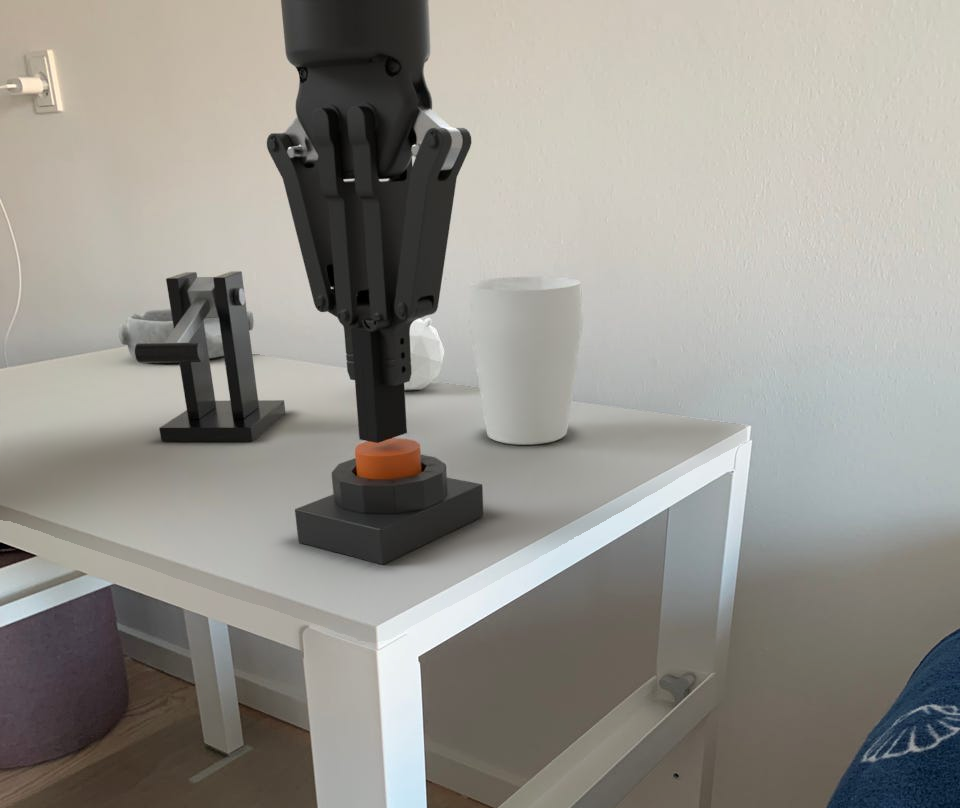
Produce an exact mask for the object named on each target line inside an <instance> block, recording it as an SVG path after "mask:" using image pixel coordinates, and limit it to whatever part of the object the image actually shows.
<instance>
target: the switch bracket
mask: <svg viewBox="0 0 960 808" xmlns="http://www.w3.org/2000/svg"><path fill="white" fill-rule="evenodd" d="M197 277H198V273H197V272H196V271H190V272H189V271H188V272H187V271H186V272H182V273H179V274H176V275H173V276H169V277H167V278H166V279H165V282H166V287H167V293H168V294H167V295H168V300H169V306H170V309H171V314H172V320H173V326H174V328H175V327H176V326H177V324H178V323H179V321H180V320H181V318H182V317H183V316H184V314H185V313H186V311H187V310H188V309H189V307H190V306H191V305H190V301H189V297H188V293H187V290H188V289H189V287H190V286H191V285H192V283H193V282H194V281H195V279H196V278H197ZM213 277H214V278H213V280H214V287H215V294H216V301H217V309H218V316H219V323H220V330H221V337H222V344H223V351H224V356H223V358H224V366H225V371H226V379H227V386H228V392H229V400H216V396H215V390H214V389H215V388H214V383H213V376H212V368H211V361H210V359H209V355H208V348H207V341H206V334H205V327H204V320H203V322H202V323H201V325H200V326H199V328H198V329H197V331H196V332H195V334H194V335H193V337H192V338H191V340H190V341H189V343H201V344H202V346H203V349H204V359H203V361H202V362H178V363H179V370H180V376H181V382H182V387H183V392H184V393H183V394H184V400H185V407H186V410H184V411H183V412H182V413H180V414H178V415H177V416H175V417H173V418H172V419H171V420H169V421H168V422H166V423H164V424H163V425H161V426H160V427H158V429H159V434H160V435H159V436H160V441H161V442H165V443H167V442H168V443H169V442H170V443H171V442H172V443H173V442H174V443H176V442H177V443H178V442H180V443H181V442H182V443H184V442H185V443H186V442H189V443H191V442H193V443H195V442H196V443H197V442H198V443H199V442H201V443H202V442H204V443H205V442H206V443H208V442H211V443H212V442H214V443H215V442H217V443H218V442H222V443H223V442H224V443H225V442H228V443H229V442H230V443H231V442H234V443H235V442H240V443H241V442H242V443H243V442H244V443H245V442H249V443H250V442H254V441H255V440H256V439H257V438H258V437H260V436H261V435H263V433H264V432H265V431H266V430H267V429H269V428H270V427H272V425H273V424H274V423H276V422H277V421H278V420H279V419H280V418H282V417H283V416H284V415H285V414H286V404H285V400H284V399H281V400H280V399H279V400H278V399H273V400H271V399H269V400H267V399H266V400H259V397H258V387H257V380H256V374H255V372H256V371H255V365H254V358H253V357H254V356H253V350H252V348H253V347H252V341H251V333H250V330H249V325H248V317H247V312H248V310H247V302H246V295H245V288H244V287H245V285H244V278H243V272H242V270H241V271H240V270H239V271H236V270H235V271H229V272H226V273H223V274H220V275H216V276H213Z"/></svg>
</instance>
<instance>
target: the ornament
mask: <svg viewBox="0 0 960 808" xmlns="http://www.w3.org/2000/svg"><path fill="white" fill-rule="evenodd" d="M432 324H433V320H432V319H431V317H426V318H425V319H424V320H423V319H422V318H419V319H417V320H415V321H413V323H412V324H411V326H410V351H411V355H410V357H411V371H412V374H411V377H410V381H409V382H406V383H404V389H405V391H419V390H424V388H425V387H427V386H428V385H429V384H430V383H431V382H432V381H434V379H436V378H437V377H438V376H439V375H440V374H441V373H440V372H441V369H442V366H443V365H442V364H443V361H444V357H445V351H446V350H445V348H444V346H443V343H442V341H441V338H440V334H439V332H438V330H437V328H435V327H434V326H432Z"/></svg>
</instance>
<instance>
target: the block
mask: <svg viewBox="0 0 960 808" xmlns="http://www.w3.org/2000/svg"><path fill="white" fill-rule="evenodd" d="M421 470H422V472H421V473H419V474H416V475H414V476H410V477H404V478H397V479H368V478H363V477H358V476H357V468H356V457H354V458H352V459H348V460H346V461H343V462H341V463H340V462H339V463H338V464H337V465H336V466H335V468H334V469H333V470H332V471H331V480H332V492H333V494H331V495H327V496H325V497H323V498H319V499H317V500H315V501H312V502H310V503H307V504H305V505H302V506H300V507H299V506H298V507H296V508H295V509H294V514H295V515H294V516H295V523H296V524H295V525H296V531H297V538H298V539H297V542H298V543H300V544H304V545H307V546H311V547H315V548H320V549H323V550H326V551H330V552H334V553H338V554H342V555H346V556H349V557H353V558H356V559H361V560H365V561H368V562H371V563H375V564H380V565H385V564H387V563H390V562H391V561H393V560H396V559H397V558H400V557H401V556H404V555H406V554H408V553H410V552H412V551H415V550H416V549H418V548H420V547H423V546H424V545H427V544H429V543H431V542H433V541H436V540H437V539H439V538H442V537H443V536H445V535H447V534H449V533H451V532H454V531H456V530H457V529H459V528H462V527H464V526H466V525H468V524H470V523H472V522H474V521H476V520H478V519H480V518H482V517H484V489H483V484H482V483H479V482H473V481H467V480H462V479H458V478H452V477H448V476H447V464H446V463H445V462H443V461H442V460H440V459H438V458H437V457H436V456H431V455H425V454H421Z"/></svg>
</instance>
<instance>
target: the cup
mask: <svg viewBox="0 0 960 808" xmlns="http://www.w3.org/2000/svg"><path fill="white" fill-rule="evenodd" d="M583 322H584V315H583V299H582V281H581V280H579V279H575V278H571V277H563V276H562V277H560V276H513V277H501V278H500V277H499V278H497V277H496V278H490V279H483V280H478V281H475V282H472V283H470V284H469V318H468V325H469V326H468V328H469V335H470V340H471V346H472V352H473V359H474V364H475V370H476V376H477V377H476V378H477V383H478V387H479V393H480V395H479V396H480V400H481V404H482V405H481V406H482V412H483V418H484V424H485V429H486V435H487V437H488V438H490V439H491V440H493V441H495V442H498V443H502V444H506V445H507V444H508V445H515V446H516V445H517V446H530V445H531V446H532V445H542V444H549V443H553V442H555V441H559V440H561V439H563V438H564V437H565V436H566V435H567V433H568V427H569V420H570V414H571V408H572V407H571V406H572V400H573V393H574V387H575V380H576V373H577V366H578V359H579V354H580V346H581V345H580V344H581V338H582V333H583V332H582V331H583V324H584V323H583Z"/></svg>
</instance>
